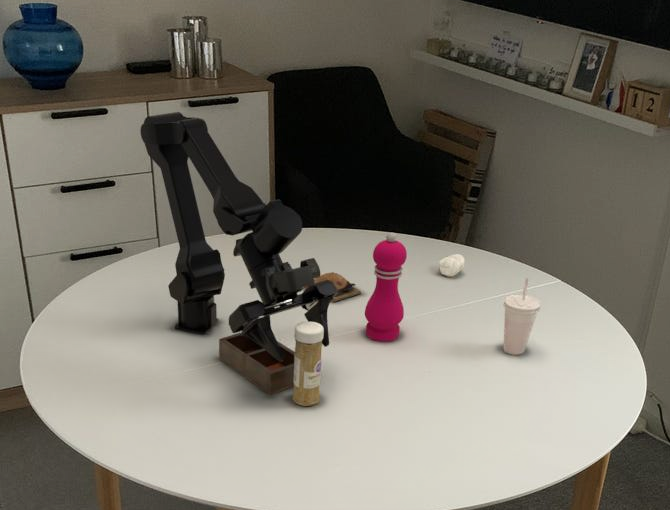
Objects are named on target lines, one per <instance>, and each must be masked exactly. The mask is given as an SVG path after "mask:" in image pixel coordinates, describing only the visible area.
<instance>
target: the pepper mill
mask: <svg viewBox="0 0 670 510" xmlns="http://www.w3.org/2000/svg"><path fill="white" fill-rule="evenodd" d="M385 237H386V239H385V240H382V241H379V243H377V244H376V245H375V247H374V248H373V251H372V259H373V262H374V263H375V266H374V272H373V274H374V275H375V277H376V283H375V287H374V290H373V292H372V294H371V295H370V297H369V299H368V300H367V303H366V305H365V309H364V310H365V311H364V318H365V320H366V321H367V323H366V325H365V335H366V336H367V337H368V338H369V339H371V340H374V341H377V342H392V341H394V340H396V339H398V338H399V336H400V329H401V327H400V325H399V324H401V322H402V321H403V319H404V317H405V310H404V304H403V301H402V299H401V296H400V293H399V280H400V278H401V277H402V276H403V267H402V266H404V264H405V263H406V261H407V257H408V256H407V255H408V253H407V249H406V246H405V245H404V244H403V243H402V242H401V241H398V240H397V234H396V233H394V232H389V233H387V235H386V236H385Z"/></svg>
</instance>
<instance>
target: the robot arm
mask: <svg viewBox="0 0 670 510" xmlns="http://www.w3.org/2000/svg"><path fill="white" fill-rule="evenodd" d="M140 137H141V140H142V142H143V143H144V147H145V150H146V152H147V155H148V157H149V158H150V159H151V160H152V161H153V162H154V163H155V164H156V165H157V166H158V168H159V169H160V171H161V175H162V180H163V184H164V187H165V192H166V196H167V200H168V204H169V209H170V212H171V216H172V217H171V218H172V221H173V225H174V229H175V234H176V238H177V243H178V246H179V250H178V253H177V257H176V260H175V263H174V266H175V273H176V276H174V277H173V279H172V280H171V281H170V282H169V284H168V286H167V287H168V291H169V292H168V293H169V296H170V298H172V299H174V301H176V303H177V321H178V322H177V323H176V324H174V329H175V330H180V331H184V332H185V331H186V332H190V333H194V334H195V333H196V334H200V335H205V334H207V333H208V332H209V331H210V330H211V329H212V328H213V327H215V326H214V325H216V324H217V323H218V322H219V318H218V317H217V314H218V313H217V303H216V302H215V296H217V295H218V296H219V295H221V294H222V290H223V287H224V281H225V279H226V278H225V276H226V273H225V268H224V266H223V263H222V262H223V261H222V258H221V252H220V251H219V250H218V249H217V248H216V249H213V248H212V247H211V245H209V243H207V240H206V236H205V232H204V227H203V223H202V218H201V214H200V210H199V206H198V201H197V198H196V193H195V189H194V185H193V181H192V176H191V171H190V168H189V164H188V163H189V162H188V160H190V162H191V163H192V165H193V166H194V168H195V171H197V173H198V175H199V177H200V179H201V180H202V182H203V183H204V185H205V187H206V188H207V190H208V191H209V193H210V194H211V197H212V199H213V205H212V213H213V215H214V217H215V219H216V222H217V225H218V227H219V228H220V229H221V231H222V233H224V234H225V235H226V236H232V237H233V236H236V235H241V234H244V233H245V235H244V236H243V237H241V238H237V239H236V240H235V245H234V248H233V252H232V254H233V257H239V256H240V257H241V259H242V262H243V263H244V266H245V268H246V270H247V272H248V274H249V276H250V278H251V281H250V282H249V283H248V285H249V287H250V289H251V290H253V289H255V290H256V292H257V293H258V294H257V295H258V296H259V298H260V300H261V301H260V300H259V299H256V300H252V301H248V302H244V303H241V304H239V306H237V308H236V309H235V310H233V311H232V313H231V314H230V315H229V317H228V326H229V329H230V330H231V333H232V334H237V333H241V335H242V336H245V335H246V336H248V337H249V338H251V339H252V340H253V341H255V342H256V343H258V344H259V345H260V346H262V347H263V348H264V349H265V350H266V351H268V352H269V353H270V354H271V355H272V356H273V357H275V358H276V359H277V360H278V361H279V362H282V361H283V360H284V356H283V353H282V351H281V348H280V346H279V344H278V342H279V341H278V340H277V338H276V336H275V334H274V332H273V328H272V325H271V316H273V315H276V314H278V313H282V312H286V311H290V310H293V309H296V308H300V307H301V308H302V309H303V310H306V312H305V313H304V314H303V315H304V317H305V319H306V321H307V322H316V323H319V324H321V325H322V326H323V328H324V335H323V339H322V346H323V347H324V348H326V347H328V346H329V345H330V336H329V335H330V334H329V324H328V310H329V306H330V304H331V303H332V302H333V297H334V296H335V295H336V294H337V293H338V291H337V289H336V287H335V284H334V283H333V282H331V281H329V280H325V281H321V282H318V283H314V279H316V278H318V277H320V276H321V275H322V273H321V269H320V266H319V264H318V262H317V260H316V259H315V257H312V258H311V257H310V258H307V259H303V260H301V261H300V264H299V267H295V268H293V267H292V265H291V264H290V263H289V261H286V262H283V260H282V257H281V256H280V254H281V253H283V252H284V251H285V250H286V249H287V248H288V247H289V246H290V245H291V244H292V243H293V242H294V240H295V239H296V238H298V236H299V235H300V234H301V232H302V231H303V220H302V217H301V216H300V214H299V213H297V212H296V211H295V210H294V209H293V208H291V207H289V206H286V205H284V204H283V202H282V200H281V199H274V200H270V201H268V203H267V204H266V203H265V202H264V201H263V200H262V198H260V195H258V194H257V193H256V191H255V190H254V189H253V187H251V186H250V185H247V184H245V182H242V181H240V180H239V179H238V177H237V176H236V175H235V173H234V172H233V170H232V169H231V167H230V165H229V163H228V162H227V160H226V159H225V157H224V155H223V154H222V152H221V150H220V149H219V147H218V146H217V144H216V143H215V140H214V139H213V138H212V136H211V134H210V133H209V129H208V125H207V122H206V121H205V120H204V119H203V118H200V117H195V116H194V117H193V116H192V117H191V116H185V115H183V113H181V111H175V112H168V113H162V114H155V115H148V116H145V118H144V121H143V123H142V124H141V126H140ZM306 286H310V287H308V288H306ZM303 290H304V291H303ZM300 292H302V293H300ZM298 293H299V294H298ZM277 341H278V342H277Z"/></svg>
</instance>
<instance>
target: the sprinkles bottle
mask: <svg viewBox="0 0 670 510" xmlns="http://www.w3.org/2000/svg"><path fill="white" fill-rule="evenodd" d="M323 335H324V328H323V326H322V325H321V324H319V323H316V322H308V321H302V322H299V323H297V324H296V325H295V326H294V340H295V344H294V345H295V348H294V352H295V357H294V387H293V395H292V400H293V402H294V403H295V404H297V405H299V406H303V407H310V406H314V405H316V404H318V403H319V402H320V398H321V396H320V388H321V385H320V384H321V376H322V374H321V373H322V351H323V350H322V349H323V347H322V346H323V344H322V339H323Z"/></svg>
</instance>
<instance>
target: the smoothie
mask: <svg viewBox="0 0 670 510" xmlns="http://www.w3.org/2000/svg"><path fill="white" fill-rule="evenodd" d="M529 280H530V277H528V276H526V277H525V280H524V286H523V291H522V294H512V295H508V296H506V297H504V300H503V305H502V306H503V307H504V321H503V322H504V323H503V324H504V325H503V351H504V352H505V353H507V354H508V355H514V356H519V355H523V354H524V353H525V350H526V348H527V344H528V341H529V339H530V335H531V332H532V329H533V327H534V324H535V321H536V318H537V315H538V313H539V312H540V311H541V306H542V303H541V301H540V300H539V299H538V298H535V297H533V296H531V295H527V292H528V286H529Z"/></svg>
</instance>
